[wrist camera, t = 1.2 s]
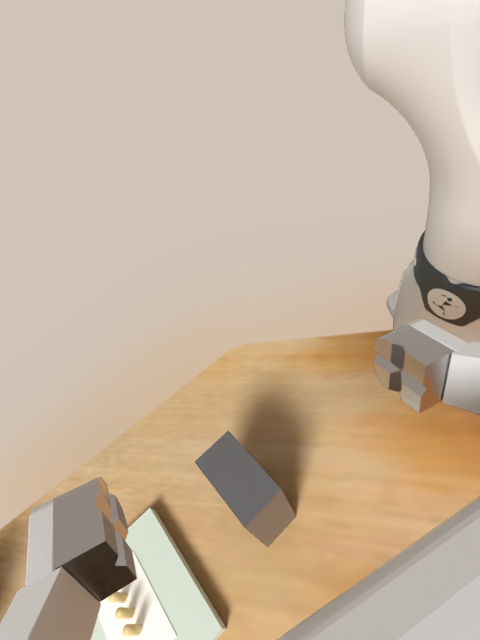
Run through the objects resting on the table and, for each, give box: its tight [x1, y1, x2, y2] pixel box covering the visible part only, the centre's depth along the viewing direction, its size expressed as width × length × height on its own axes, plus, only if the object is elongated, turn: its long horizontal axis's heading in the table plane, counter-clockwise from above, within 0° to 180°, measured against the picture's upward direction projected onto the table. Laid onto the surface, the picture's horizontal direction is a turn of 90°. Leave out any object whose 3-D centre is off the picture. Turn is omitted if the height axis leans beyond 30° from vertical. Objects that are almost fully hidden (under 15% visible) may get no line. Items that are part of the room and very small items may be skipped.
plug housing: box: [195, 431, 296, 547], centre depth 34 cm, size 4×7×10 cm, turn 41°
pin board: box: [91, 508, 227, 640], centre depth 33 cm, size 12×13×4 cm
